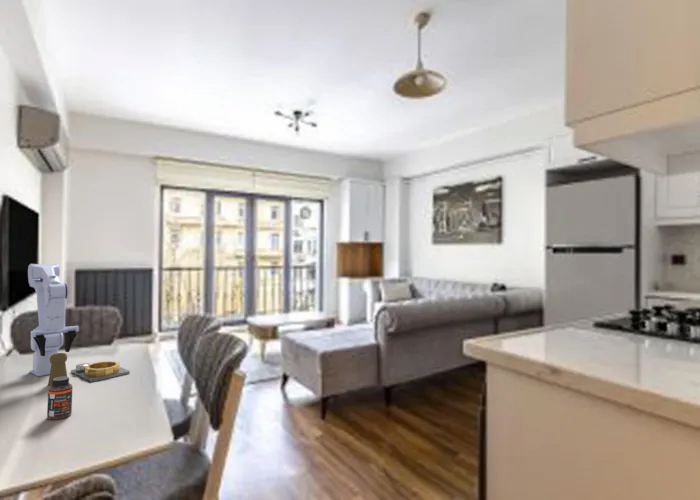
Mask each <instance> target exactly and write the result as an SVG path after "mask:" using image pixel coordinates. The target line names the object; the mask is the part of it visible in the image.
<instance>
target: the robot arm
mask: <svg viewBox="0 0 700 500" xmlns="http://www.w3.org/2000/svg"><path fill="white" fill-rule="evenodd" d="M60 268H61V267H60V265H59V264H58V263H40V264H39V263H30V264H29V265H28V268H27V279H28V284H29V287H31V288H33V289H34V290H35V293H36V303H37V304H36V305H37V317H38V326H37V327H35V328H34V329H32V330H30V348H31V350H32V351H34V352H33V355H32V369H30V370H29V373H31V374H33V375H34V376H36V377H42V376H47V375H50V370H51V363H50V357H51V355H53V354H57V353H59V350H60V348H62V346H64V352H65V353H70V351H71V346H72V344H73V342H74V340H75V339H76V337H77V335H78V334H77V332H79V331H80V326H79V325H71V326H69V325H68V326H66V310H67V309H66V307H67V306H66V305H67V304H66V303H67V299H68V297H69V287H68V284H67V283H65V282H64V283H63V282H62V280H61V278H60V272H61V271H60V270H61V269H60ZM64 341H65V342H64Z"/></svg>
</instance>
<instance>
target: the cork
mask: <svg viewBox="0 0 700 500" xmlns="http://www.w3.org/2000/svg"><path fill="white" fill-rule="evenodd" d="M67 361H68V354H67V353H66V352H65V353H63V352H58V353H57V354H53V355H51V357H50V363H51V370H50V374H48V375H49V376H48V382H47V386H48V387H51V386H52V385H53V384H52V383H53V379H54V378H57V377H63V376H66V377H68V372H67V371H68V370H67V366H66V365H67V364H66V362H67Z"/></svg>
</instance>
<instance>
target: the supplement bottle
mask: <svg viewBox="0 0 700 500" xmlns="http://www.w3.org/2000/svg"><path fill="white" fill-rule="evenodd" d="M52 384H53V385H52V386H51V387H50V386H48V391H47V410H46V411H47V413H46V414H47V419H49V420H61V419H62V420H63V419H64V418H67V417H69V416H71V414H72V413H73V412H72V411H73V385H72V383H70V377H69V376H67V377H66V376H63V377H57V378H54V379H53V383H52Z"/></svg>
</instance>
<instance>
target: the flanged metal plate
mask: <svg viewBox="0 0 700 500" xmlns="http://www.w3.org/2000/svg"><path fill="white" fill-rule="evenodd" d="M70 373H71V374H73V375H75V376H77V377H79V378H81V379H82V380H85V381H87V382H89V383H93V382H98V381H103V380H107V379H111V378H116V377H120V376H125V375H129V374H131V373H130V370H129V369H126V368H124V367H121V364H120V362H119V361H116V360H115V361H114V360H104V361H97V362H92V363H89V362H88V363H87V362H86V363H85V362H84V363H79V364H76V365H75V368H74V369H71V370H70Z"/></svg>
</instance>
